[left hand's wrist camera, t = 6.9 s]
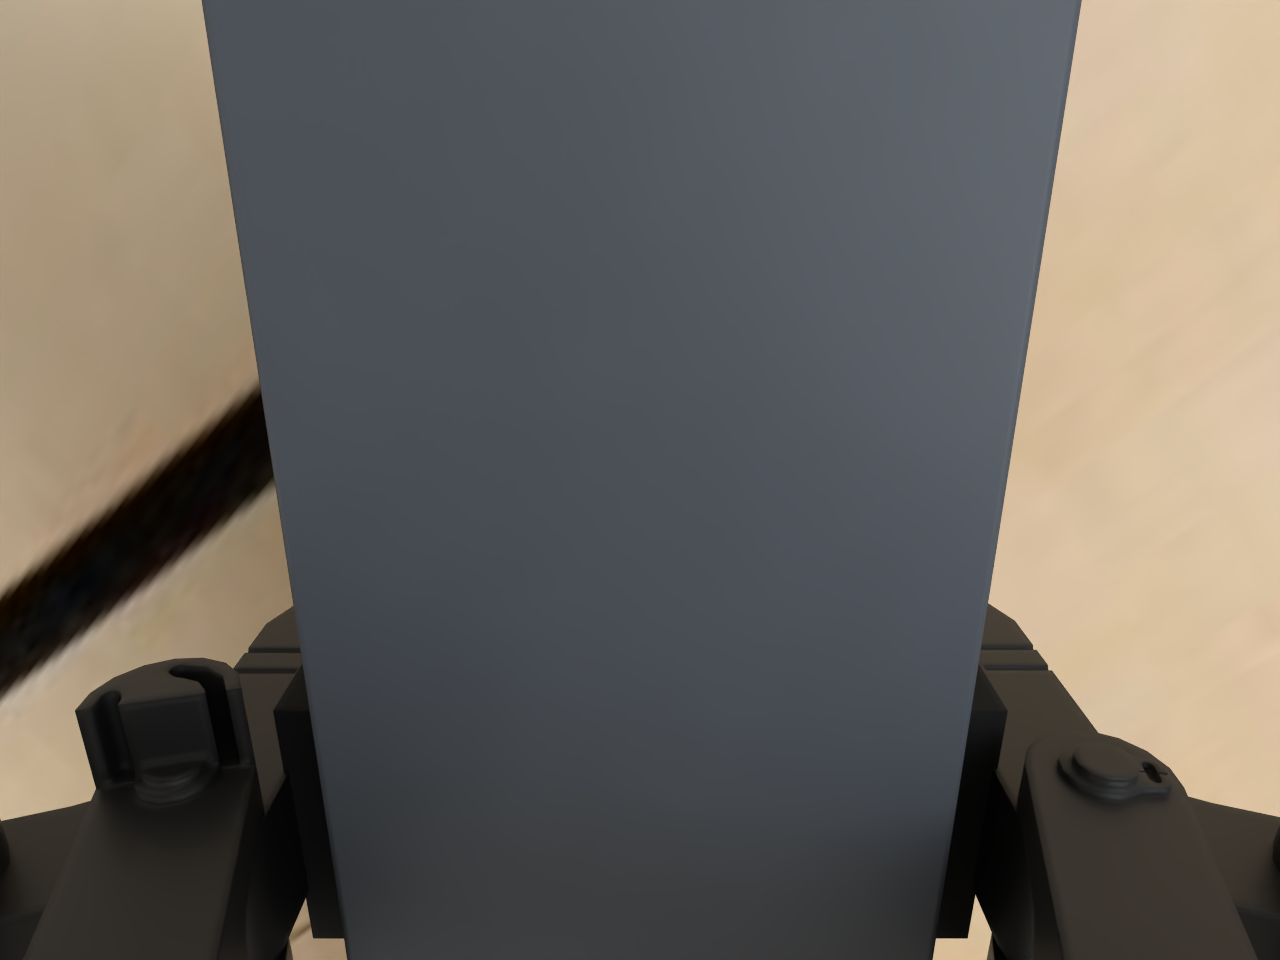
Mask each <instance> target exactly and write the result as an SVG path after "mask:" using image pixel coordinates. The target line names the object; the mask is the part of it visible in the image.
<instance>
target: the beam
mask: <svg viewBox="0 0 1280 960" xmlns="http://www.w3.org/2000/svg"><path fill="white" fill-rule="evenodd" d="M1081 1H1082V0H202V5H203V12H204V18H205V25H206V32H207V38H208V45H209V51H210V58H211V65H212V71H213V78H214V84H215V91H216V97H217V104H218V111H219V117H220V124H221V130H222V137H223V144H224V150H225V157H226V163H227V170H228V176H229V183H230V190H231V196H232V203H233V209H234V216H235V223H236V229H237V236H238V242H239V249H240V256H241V262H242V269H243V275H244V282H245V288H246V295H247V302H248V308H249V315H250V321H251V328H252V335H253V341H254V348H255V354H256V361H257V367H258V374H259V381H260V387H261V394H262V400H263V407H264V414H265V420H266V427H267V433H268V440H269V446H270V453H271V460H272V466H273V473H274V479H275V486H276V493H277V499H278V506H279V512H280V519H281V525H282V532H283V539H284V545H285V552H286V558H287V565H288V572H289V578H290V585H291V591H292V598H293V604H294V611H295V618H296V624H297V631H298V637H299V644H300V651H301V657H302V664H303V670H304V677H305V683H306V690H307V697H308V703H309V710H310V716H311V723H312V730H313V736H314V743H315V749H316V756H317V762H318V769H319V776H320V782H321V789H322V795H323V802H324V809H325V815H326V822H327V828H328V835H329V841H330V848H331V855H332V861H333V868H334V874H335V881H336V888H337V894H338V901H339V907H340V914H341V920H342V927H343V934H344V940H345V947H346V953H347V960H932V959H933V953H934V947H935V940H936V934H937V927H938V921H939V914H940V908H941V901H942V895H943V889H944V882H945V876H946V869H947V863H948V856H949V850H950V844H951V837H952V831H953V824H954V818H955V811H956V805H957V799H958V792H959V786H960V779H961V773H962V766H963V760H964V754H965V747H966V741H967V734H968V728H969V721H970V715H971V708H972V702H973V696H974V689H975V683H976V676H977V670H978V663H979V657H980V651H981V644H982V638H983V631H984V625H985V618H986V612H987V606H988V599H989V593H990V586H991V580H992V573H993V567H994V561H995V554H996V548H997V541H998V535H999V528H1000V522H1001V516H1002V509H1003V503H1004V496H1005V490H1006V483H1007V477H1008V470H1009V464H1010V458H1011V451H1012V445H1013V438H1014V432H1015V425H1016V419H1017V413H1018V406H1019V400H1020V393H1021V387H1022V380H1023V374H1024V368H1025V361H1026V355H1027V348H1028V342H1029V335H1030V329H1031V323H1032V316H1033V310H1034V303H1035V297H1036V290H1037V284H1038V278H1039V271H1040V265H1041V258H1042V252H1043V245H1044V239H1045V232H1046V226H1047V220H1048V213H1049V207H1050V200H1051V194H1052V187H1053V181H1054V175H1055V168H1056V162H1057V155H1058V149H1059V142H1060V136H1061V130H1062V123H1063V117H1064V110H1065V104H1066V97H1067V91H1068V85H1069V78H1070V72H1071V65H1072V59H1073V52H1074V46H1075V39H1076V33H1077V27H1078V20H1079V14H1080V7H1081Z"/></svg>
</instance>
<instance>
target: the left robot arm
mask: <svg viewBox="0 0 1280 960" xmlns="http://www.w3.org/2000/svg"><path fill="white" fill-rule="evenodd" d="M75 713H76V716H77V720H78V724H79V727H80V731H81V735H82V738H83V742H84V746H85V749H86V753H87V757H88V760H89V764H90V768H91V771H92V775H93V779H94V782H95V786H96V790H95V793H94V795H93V797H92V800H91V801H89V802H85V803H82V804H78V805H74V806H71V807H66V808H61V809H57V810H52V811H47V812H42V813H38V814H33V815H28V816H23V817H19V818H14V819H9V820H5V821H1V820H0V960H293V957H292V951H291V946H290V940H289V936H290V933H291V931H292V929H293V926H294V924H295V922H296V919H297V917H298V915H299V912H300V910H301V908H302V905H303V903H304V901H305V898H306V900H307V906H308V911H309V917H310V923H311V928H312V934H313V938H344V934H343V927H342V920H341V914H340V907H339V901H338V894H337V888H336V881H335V874H334V868H333V861H332V855H331V848H330V841H329V835H328V828H327V822H326V815H325V809H324V802H323V795H322V789H321V782H320V776H319V769H318V762H317V756H316V749H315V743H314V736H313V730H312V723H311V716H310V710H309V703H308V697H307V690H306V683H305V677H304V670H303V664H302V657H301V651H300V644H299V637H298V631H297V624H296V618H295V611H294V606H293V607H291V608H290V609H288V610H287V611H285V612H284V613H282V614H281V615H279V616H278V617H276V618H275V619H273V620H272V621H270V622H269V623H267V624H266V625H265V627H264V628H263V629H262V631H261V632H260V633H259V635H258V636H257V637H256V639H255V640H254V641H253V643H252V644H251V646H250V647H249V651H248V653H245V654H244V655H243V656H242V658H241V659H240V660H239V662H238V663H237V664H236V666H235V667H234V669H233V668H231V667H230V666H229V665H228V664H226V663H224V662H219V661H215V660H211V659H206V658H184V659H172V660H167V661H163V662H158V663H153V664H149V665H144V666H142V667H139V668H137V669H134V670H132V671H129V672H127V673H124V674H122V675H119V676H117V677H114V678H113V679H111V680H110V681H108V682H107V683H105V684H103V685H102V686H100V687H99V688H97V689H96V690H94V691H93V692H91V693H90V694H89V695H88V696H87V697H86V699H85V700H84V701H83V702H82V703H81V704H80V706H79V707H78V708H77V709H76V710H75ZM975 894H976V897H977V899H978V901H979V903H980V906H981V908H982V910H983V913H984V915H985V917H986V920H987V922H988V924H989V927H990V929H991V931H992V935H991V940H990V946H989V951H988V956H987V960H1280V817H1276V816H1271V815H1266V814H1262V813H1257V812H1252V811H1247V810H1243V809H1238V808H1233V807H1228V806H1223V805H1219V804H1214V803H1210V802H1206V801H1202V800H1199V799H1195V798H1191V797H1188V796H1187V793H1186V791H1185V789H1184V787H1183V786H1182V784H1181V783H1180V781H1179V780H1178V779H1177V777H1176V776H1175V775H1174V773H1173V772H1172V770H1171V769H1170V768H1169V767H1167V766H1166V765H1165V764H1163V763H1162V762H1161V761H1159V760H1158V759H1157V758H1155V757H1154V756H1153V755H1151V754H1150V753H1149V752H1147V751H1145V750H1143V749H1141V748H1139V747H1137V746H1135V745H1132V744H1130V743H1128V742H1126V741H1124V740H1121V739H1119V738H1116V737H1112V736H1108V735H1104V734H1100V733H1098V732H1097V731H1096V729H1095V728H1094V727H1093V725H1092V724H1091V722H1090V721H1089V720H1088V718H1087V717H1086V716H1085V714H1084V713H1083V712H1082V710H1081V709H1080V708H1079V706H1078V705H1077V704H1076V702H1075V701H1074V700H1073V698H1072V697H1071V696H1070V694H1069V693H1068V692H1067V690H1066V689H1065V688H1064V686H1063V685H1062V684H1061V682H1060V681H1059V680H1058V678H1057V677H1056V675H1055V674H1054V673H1053V671H1048V665H1047V663H1046V662H1045V661H1044V659H1043V658H1042V657H1041V655H1040V654H1039V653H1038V651H1037V650H1033V645H1032V643H1031V642H1030V641H1029V639H1028V638H1027V637H1026V635H1025V634H1024V633H1023V631H1022V630H1021V628H1020V627H1019V626H1018V624H1017V623H1016V622H1015V621H1014V620H1013V619H1011V618H1010V617H1008V616H1007V615H1005V614H1004V613H1002V612H1001V611H999V610H997V609H996V608H994V607H993V606H991V605H990V604H988V606H987V612H986V618H985V625H984V631H983V638H982V644H981V651H980V657H979V663H978V670H977V676H976V683H975V689H974V696H973V702H972V708H971V715H970V721H969V728H968V734H967V741H966V747H965V754H964V760H963V766H962V773H961V779H960V786H959V792H958V799H957V805H956V811H955V818H954V824H953V831H952V837H951V844H950V850H949V856H948V863H947V869H946V876H945V882H944V889H943V895H942V901H941V908H940V914H939V921H938V927H937V934H936V938H968V933H969V927H970V921H971V916H972V910H973V905H974V899H975Z"/></svg>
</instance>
